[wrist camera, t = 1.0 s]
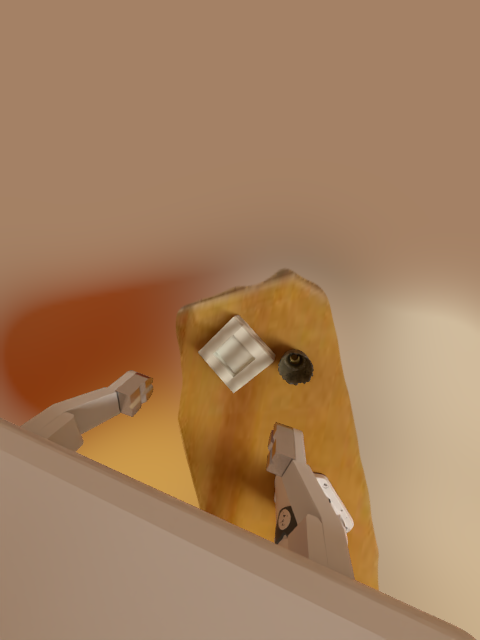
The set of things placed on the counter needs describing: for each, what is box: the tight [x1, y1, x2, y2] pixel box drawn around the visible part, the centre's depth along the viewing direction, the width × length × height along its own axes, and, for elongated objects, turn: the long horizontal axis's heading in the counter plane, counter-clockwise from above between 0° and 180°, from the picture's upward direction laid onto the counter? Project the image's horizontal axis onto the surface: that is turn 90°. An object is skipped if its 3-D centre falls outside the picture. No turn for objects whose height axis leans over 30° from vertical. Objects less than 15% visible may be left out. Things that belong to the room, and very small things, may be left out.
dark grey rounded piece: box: [278, 349, 313, 385], centre depth 41 cm, size 8×7×8 cm
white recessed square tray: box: [198, 315, 275, 393], centre depth 47 cm, size 15×15×5 cm
